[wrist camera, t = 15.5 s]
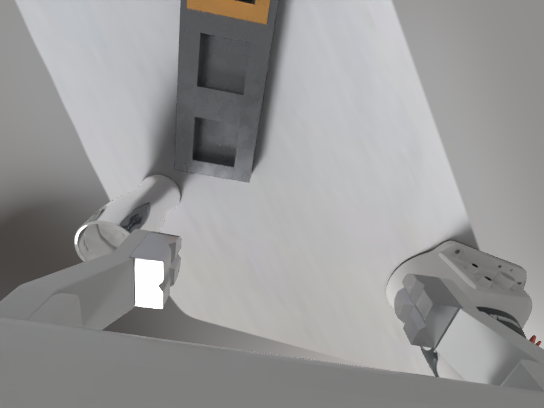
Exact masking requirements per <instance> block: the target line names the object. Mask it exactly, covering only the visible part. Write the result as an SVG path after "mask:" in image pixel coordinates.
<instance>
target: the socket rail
mask: <svg viewBox="0 0 544 408" xmlns="http://www.w3.org/2000/svg"><path fill="white" fill-rule="evenodd" d="M278 1H279V0H252V1H248V0H181V7H180V33H179V59H178V85H177V111H176V138H175V164H174V170H179V171H185V172H191V173H197V174H202V175H208V176H214V177H220V178H225V179H231V180H237V181H243V182H248V183H249V181H250V178H251V173H252V167H253V160H254V154H255V148H256V141H257V135H258V129H259V122H260V116H261V109H262V103H263V97H264V90H265V84H266V78H267V71H268V65H269V58H270V52H271V46H272V39H273V33H274V27H275V20H276V14H277V7H278Z"/></svg>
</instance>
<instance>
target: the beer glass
mask: <svg viewBox="0 0 544 408" xmlns="http://www.w3.org/2000/svg"><path fill="white" fill-rule="evenodd" d="M180 197H181V196H180V190H179V188H178V186H177V185H176V183H175V182H174V181H173V180H171V179H170V178H168V177H166V176H163V175H151V176H148V177H146V178H145V179H144V180H143V181H142V182H141V184H140V185H139V187H138V188H137V189H136V190H134V191H132V192H129V193H127V194H125V195H122V196H120V197H118V198H116V199H114V200H112V201H110V202H109V203H107V204H106V205H105V206H103V207H102V208H101V209H100V210H98V211H97V212H96V213H95V214H94V215H93V216H92V217H90V219H89V220H87V221H86V222H85V223H84V224H83V225H82V226H81V227H80V228H79V229H78V230H77V232H76V234H75V237H74V245H75V249H76V251H77V253H78V255H79V256H80V258H81V259H82V260H83V261H84V262H86V261H89V260H91V259H94V258H97V257H100V256H102V255H105V254H109V255H111V254H112V253H113V252H114V251H115V250H116V249H117V248H118V247H119V246H120V244H121V243H122V242H123V241H124V240H125V239H126V238H127V237H128V236H129V235H130V234H131V233H132V231H133V230H135V229H141V230H147V231H151V232H152V231H153V232H159V233H160V231H161V229H162V226H163V224H164V221H165V218H166V216H167V214H168V213H169V212H171V211H172V210H174V209H175V208H176V207H177V206H178V204H179V202H180Z"/></svg>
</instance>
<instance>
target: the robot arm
mask: <svg viewBox="0 0 544 408" xmlns="http://www.w3.org/2000/svg"><path fill="white" fill-rule="evenodd" d="M180 249H181V237H180V236H175V235H170V234H164V233H159V232H153V231H152V232H151V231H147V230H141V229H135V230H133V231H132V233H131V234H130V235H129V236H128V237H127V238H126V239H125V240H124V241H123V242H122V243H121V244H120V246H119V247H118V248H117V249H116V250H115V251H114V252H113V253H112V254H111V255H109V254H105V255H102V256H100V257H97V258H94V259H91V260H89V261H86V262H83V263H80V264H78V265H75V266H72V267H69V268H67V269H64V270H61V271H58V272H56V273H53V274H50V275H47V276H44V277H42V278H39V279H36V280H34V281H31V282H28V283H25V284H23V285H20V286H19V287H17V288H16V289H15V290H14V291H13V292H11V293H10V294H9V295H8V296H6V297H5V298H4V299H3V300H2V301H1V302H0V408H544V350H543V349H542V348H540V347H539V345H540V343H541V341H539V342H537V343H536V344H534V342H535V339H536V336H535V335H533V336H532V337H531V339H530V340H527V339H526V336H525V334H524V332H523V330H522V328H523V327H524V325H525V323H526V322H527V320H528V318H529V316H530V313H531V310H532V301H531V298H530V296H529V295H528V294H527V293H526V292H525V291H524V290H523V289H524V286H525V283H526V271H525V270H524V269H523V268H522V267H521V266H518V265H516V264H513V263H511V262H508V261H505V260H503V259H500V258H498V257H495V256H492V255H489V254H487V253H484V252H482V251H479V250H476V249H474V248H471V247H468V246H466V245H463V244H460V243H458V242H455V241H446V242H444V243H443V244H441V245H439V246H438V247H437V248H435V249H434V250H432V251H430V252H428V253H425V254H422V255H419V256H416V257H414V258H412V259H410V260H408V261H406V262H405V263H404V264H402V265H401V266H400V267H399V268H398V269H397V270H396V271H395V272H394V273H393V274H392V276H391V278H390V279H389V282H388V284H387V288H386V296H387V300H388V302H389V304H390V306H391V307H392V308H393V309H394V310H395V313H396V315H397V317H398V318H399V319H400V320H401V321H402V322H403V324H404V327H403V329H404V331H405V333H406V335H407V337H408V339H409V341H410V343H411V345H417V346H420V347H421V350H422V353H423V355H424V357H425V358H426V360H427V362H428V364H429V367H430V368H431V370H432V372H433V373H434V375H435V376H436V377H433V376H426V375H419V374H411V373H404V372H397V371H390V370H382V369H375V368H368V367H361V366H354V365H346V364H339V363H332V362H325V361H318V360H310V359H304V358H296V357H289V356H282V355H275V354H267V353H260V352H253V351H245V350H238V349H231V348H223V347H216V346H209V345H202V344H194V343H187V342H180V341H172V340H165V339H158V338H151V337H144V336H136V335H130V334H122V333H116V332H108V331H101V330H102V329H104V328H105V327H107V326H108V325H109V324H111V323H112V322H114V321H115V320H116V319H118V318H119V317H121V316H122V315H124V314H125V313H127V312H128V311H130V310H131V309H132V308H134V307H135V305H136V306H144V307H153V308H163V306H164V304H165V302H166V300H167V298H168V296H169V293H170V286H172V285H174V283H175V281H176V279H177V276H178V273H179V269H180V261H181V258H180V256H179V255H178V252H179V251H180ZM456 250H457V251H456Z"/></svg>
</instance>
